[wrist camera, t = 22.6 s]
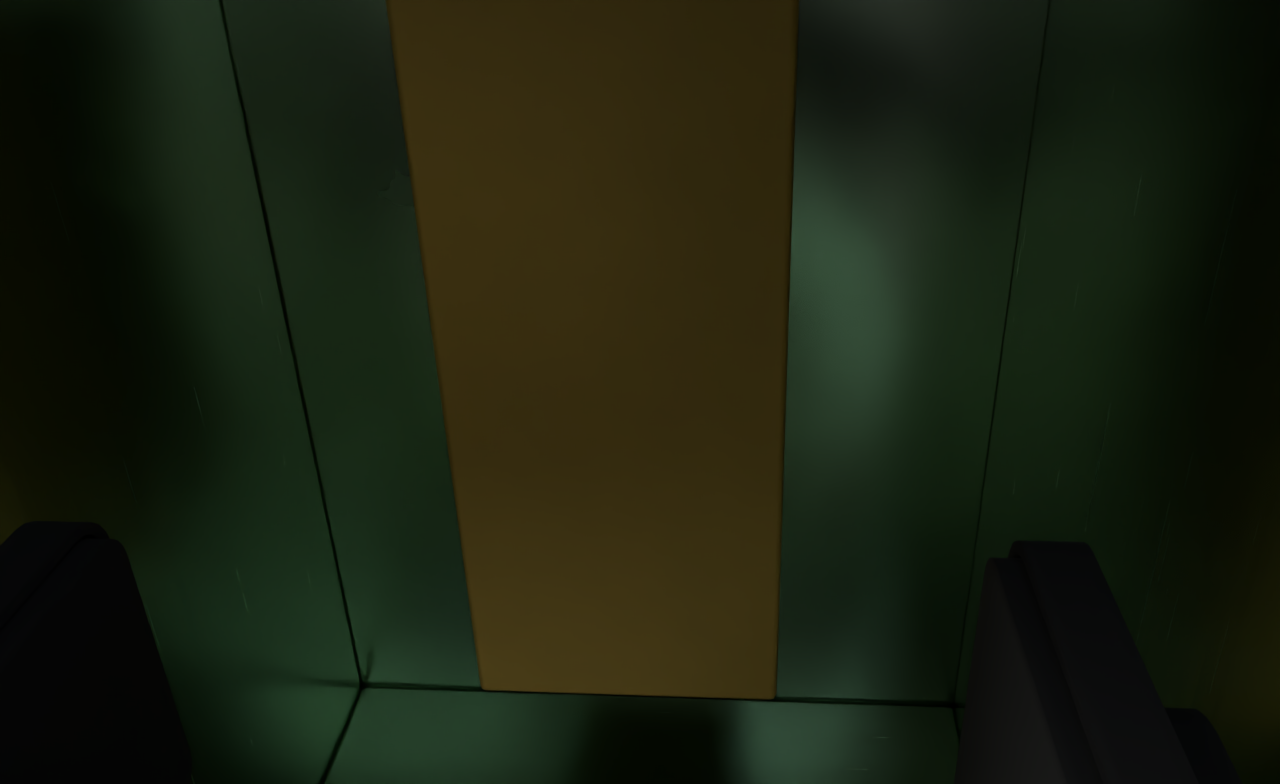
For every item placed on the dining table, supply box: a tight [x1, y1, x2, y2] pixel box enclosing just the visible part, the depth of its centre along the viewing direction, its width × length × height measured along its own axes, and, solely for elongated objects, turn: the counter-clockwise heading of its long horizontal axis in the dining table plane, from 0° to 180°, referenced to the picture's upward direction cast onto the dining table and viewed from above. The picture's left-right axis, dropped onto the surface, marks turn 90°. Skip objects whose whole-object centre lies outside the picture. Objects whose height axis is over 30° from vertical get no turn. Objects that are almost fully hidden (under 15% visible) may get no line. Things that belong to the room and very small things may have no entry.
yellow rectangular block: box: [386, 0, 799, 700], centre depth 15 cm, size 10×4×3 cm, turn 2°
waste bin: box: [0, 0, 1280, 784], centre depth 13 cm, size 16×13×11 cm
